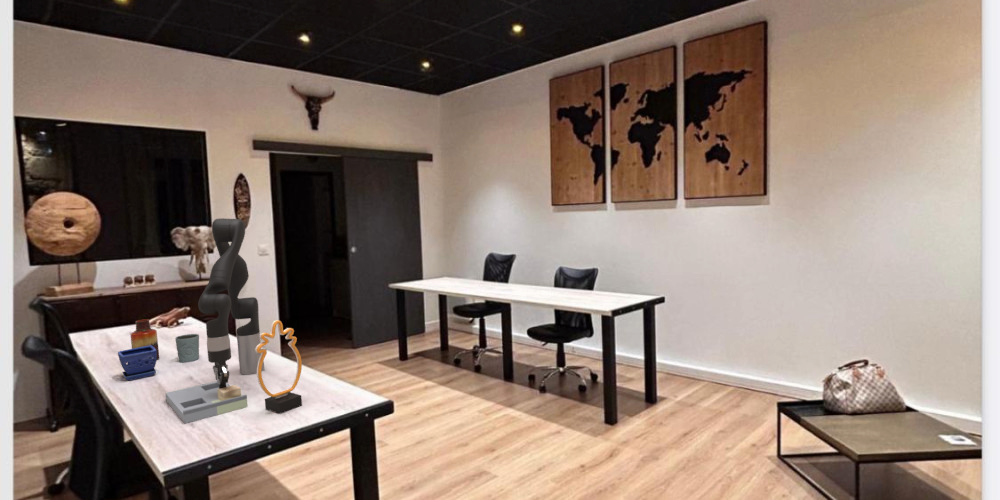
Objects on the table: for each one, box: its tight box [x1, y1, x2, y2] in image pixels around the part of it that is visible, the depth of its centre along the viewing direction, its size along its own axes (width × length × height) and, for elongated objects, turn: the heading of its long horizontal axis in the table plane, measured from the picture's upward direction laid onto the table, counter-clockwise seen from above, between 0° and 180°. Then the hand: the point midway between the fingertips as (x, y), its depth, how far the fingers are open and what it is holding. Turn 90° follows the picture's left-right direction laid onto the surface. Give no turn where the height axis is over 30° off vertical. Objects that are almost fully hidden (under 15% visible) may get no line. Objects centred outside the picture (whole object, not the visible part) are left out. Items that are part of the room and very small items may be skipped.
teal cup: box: [174, 333, 200, 364], centre depth 256 cm, size 10×10×12 cm
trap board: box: [165, 381, 249, 424], centre depth 194 cm, size 20×32×4 cm, turn 42°
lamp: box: [255, 319, 303, 415], centre depth 186 cm, size 17×9×32 cm, turn 145°
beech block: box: [217, 384, 242, 401], centre depth 191 cm, size 6×6×4 cm
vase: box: [130, 318, 160, 362], centre depth 258 cm, size 11×11×20 cm
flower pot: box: [117, 345, 157, 381], centre depth 232 cm, size 13×13×12 cm
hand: (222, 392), depth 194 cm, fingers closed
